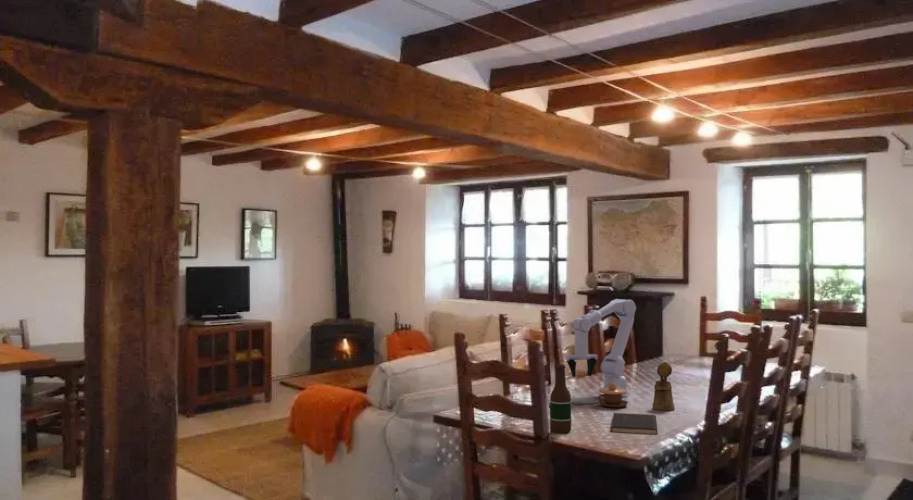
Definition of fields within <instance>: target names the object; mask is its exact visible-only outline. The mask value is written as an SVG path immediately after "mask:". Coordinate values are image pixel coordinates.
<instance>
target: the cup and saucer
mask: <svg viewBox="0 0 913 500" xmlns="http://www.w3.org/2000/svg"><path fill="white" fill-rule="evenodd" d="M602 397H603V399H601V398H602ZM598 401H599V405H600V406H602V407H607V408H611V409H612V408H613V409H614V408H616V409H617V408H623V407H626V406H627V405H628V403H629V402H628V401H627V400H624V399H623V397H622V394H601V393H600V394H599V395H598Z"/></svg>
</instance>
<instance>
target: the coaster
mask: <svg viewBox="0 0 913 500" xmlns="http://www.w3.org/2000/svg"><path fill="white" fill-rule="evenodd" d="M571 404H573V405H575V406H582V405H595V404H596V405H598V404H599V405H600V403H599V400H598V399H595V398H593V397H590V396H586V397H584V396H583V397H571Z"/></svg>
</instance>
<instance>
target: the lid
mask: <svg viewBox="0 0 913 500" xmlns="http://www.w3.org/2000/svg"><path fill="white" fill-rule="evenodd" d="M598 392H599V393H600V394H601V393H604V394H624V393H626V390H625V389H622V388H616V383H609V387H608V388H604V387H601V388H599V391H598Z"/></svg>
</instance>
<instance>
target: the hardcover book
mask: <svg viewBox="0 0 913 500" xmlns="http://www.w3.org/2000/svg"><path fill="white" fill-rule="evenodd" d="M611 429H612V432H616V433H633V434H650V435H652V434H653V435H658V422H657V416H656V415H655V414H647V413H646V414H645V413H642V414H640V413H623V412H622V413H621V412H613V416H612V422H611Z"/></svg>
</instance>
